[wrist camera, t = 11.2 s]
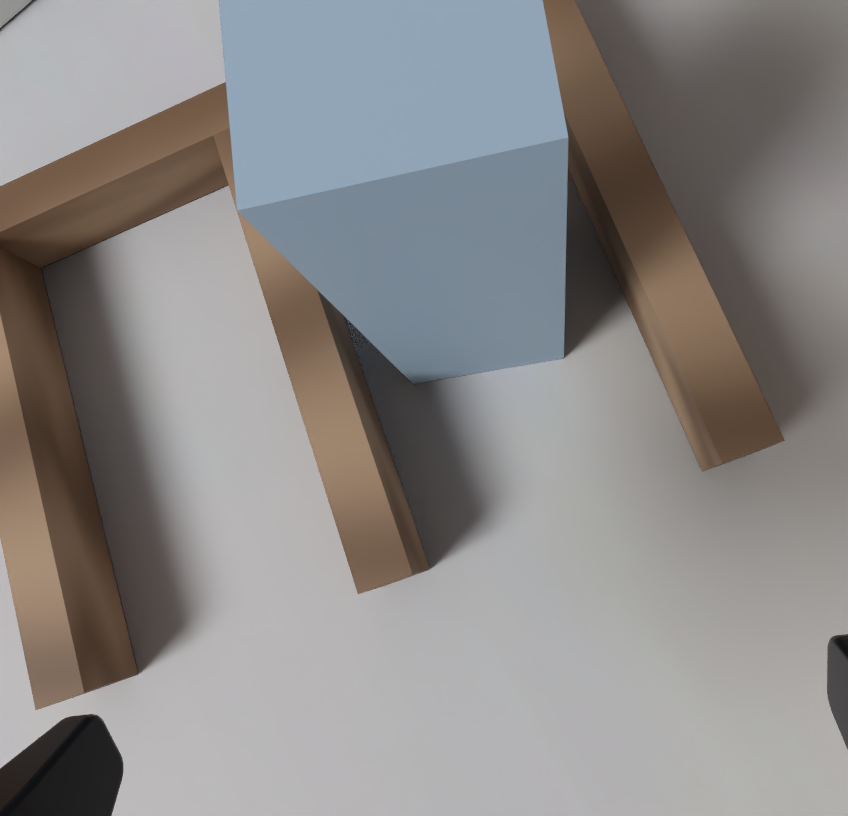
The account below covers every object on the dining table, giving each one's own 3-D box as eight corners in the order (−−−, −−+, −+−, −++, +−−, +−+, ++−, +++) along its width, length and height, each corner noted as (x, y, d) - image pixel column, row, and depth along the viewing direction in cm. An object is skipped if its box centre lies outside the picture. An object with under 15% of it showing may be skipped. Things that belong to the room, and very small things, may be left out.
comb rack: (756, 452, 19) (784, 440, 17) (94, 689, 22) (35, 710, 19) (545, -2, 23) (543, -66, 20) (-5, 247, 25) (-66, 216, 23)
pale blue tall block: (539, 215, 21) (513, -155, 10) (563, 358, 21) (568, 137, 9) (394, 244, 22) (213, -68, 11) (413, 384, 21) (236, 210, 10)
